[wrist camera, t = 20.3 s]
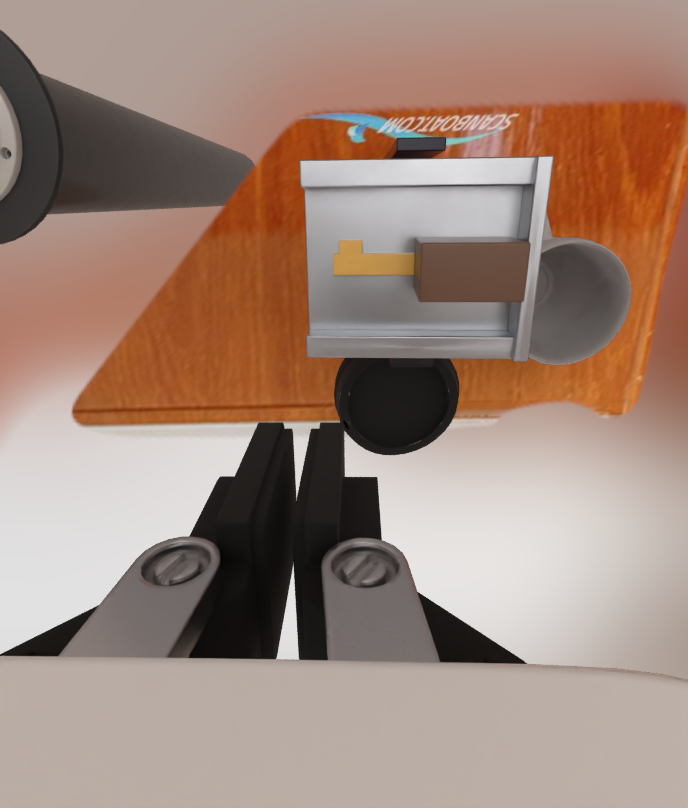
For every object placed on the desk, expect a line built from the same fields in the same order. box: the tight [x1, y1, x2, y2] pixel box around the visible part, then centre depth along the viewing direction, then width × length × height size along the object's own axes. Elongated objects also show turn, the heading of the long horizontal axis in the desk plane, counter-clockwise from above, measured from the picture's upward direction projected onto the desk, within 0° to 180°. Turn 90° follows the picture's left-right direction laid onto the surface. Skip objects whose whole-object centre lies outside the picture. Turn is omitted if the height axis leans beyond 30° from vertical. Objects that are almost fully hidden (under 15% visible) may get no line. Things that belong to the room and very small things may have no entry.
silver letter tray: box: [299, 156, 554, 362], centre depth 22 cm, size 10×8×2 cm
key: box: [333, 237, 531, 302], centre depth 21 cm, size 8×2×3 cm, turn 91°
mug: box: [528, 213, 631, 365], centre depth 39 cm, size 12×9×10 cm
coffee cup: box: [334, 358, 459, 455], centre depth 40 cm, size 8×8×15 cm
